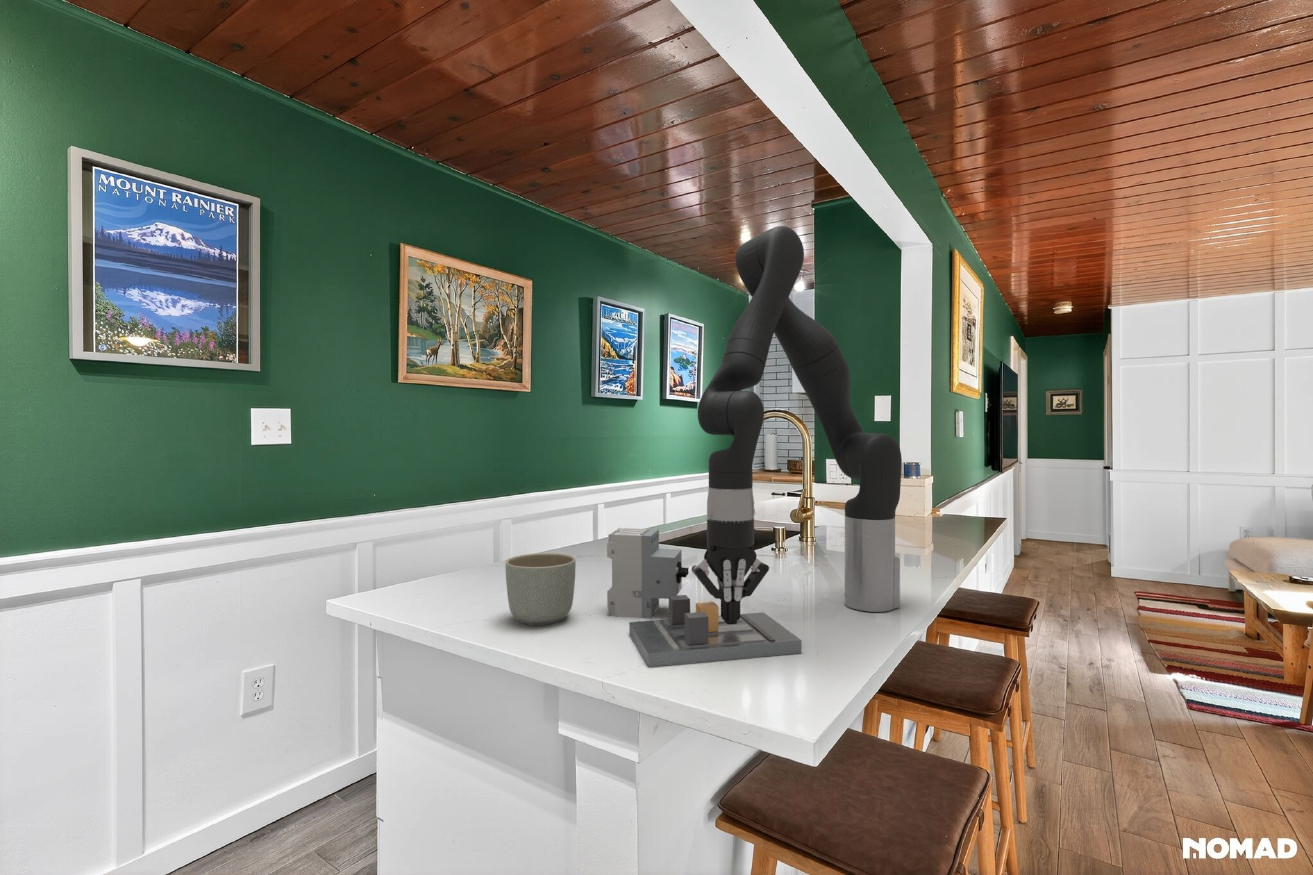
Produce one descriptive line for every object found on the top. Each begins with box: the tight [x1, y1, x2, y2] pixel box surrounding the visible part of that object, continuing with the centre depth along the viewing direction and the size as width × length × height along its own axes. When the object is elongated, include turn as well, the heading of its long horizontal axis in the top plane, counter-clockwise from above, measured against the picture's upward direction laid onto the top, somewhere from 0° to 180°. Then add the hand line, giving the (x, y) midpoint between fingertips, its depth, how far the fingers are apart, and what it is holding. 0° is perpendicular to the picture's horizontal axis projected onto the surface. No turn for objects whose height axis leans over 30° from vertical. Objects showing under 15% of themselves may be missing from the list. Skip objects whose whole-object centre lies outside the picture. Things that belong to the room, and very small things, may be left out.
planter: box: [505, 552, 577, 626], centre depth 115 cm, size 12×12×11 cm
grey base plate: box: [628, 611, 803, 668], centre depth 103 cm, size 24×15×2 cm, turn 103°
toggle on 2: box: [684, 611, 708, 645], centre depth 97 cm, size 3×3×4 cm
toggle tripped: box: [695, 601, 720, 632], centre depth 102 cm, size 3×3×4 cm
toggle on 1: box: [668, 594, 691, 624], centre depth 107 cm, size 3×3×4 cm
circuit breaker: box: [606, 527, 690, 619], centre depth 120 cm, size 8×14×15 cm, turn 78°
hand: (730, 622), depth 103 cm, fingers closed
